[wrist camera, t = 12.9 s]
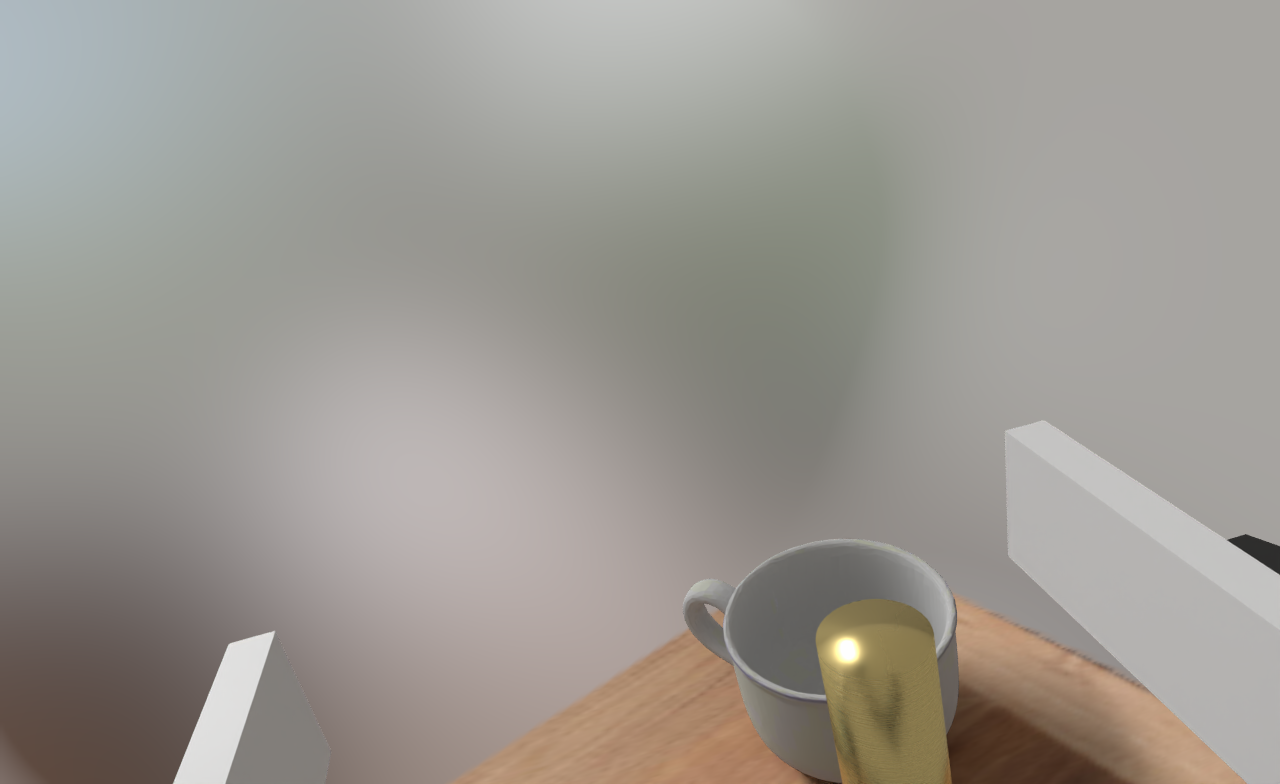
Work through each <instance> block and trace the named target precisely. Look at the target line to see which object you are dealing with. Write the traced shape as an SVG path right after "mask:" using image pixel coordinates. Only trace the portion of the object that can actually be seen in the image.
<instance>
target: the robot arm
mask: <svg viewBox="0 0 1280 784" xmlns="http://www.w3.org/2000/svg"><path fill="white" fill-rule="evenodd" d="M1005 449H1006V450H1005V451H1006V488H1007V489H1006V490H1007V524H1008V525H1007V526H1008V556H1009V557H1010V558H1011V559H1012V560H1013V561H1014V562H1015V563H1016V564H1017V565H1018V566H1019V567H1020V568H1021V569H1022V570H1024V571H1025V572H1026V573H1027V574H1028V575H1029V576H1030V577H1031V578H1032V579H1033V580H1034V581H1035V582H1036V583H1037V584H1038V585H1039V586H1040V587H1041V588H1042V589H1044V591H1046V592H1047V593H1048V594H1049V595H1050V596H1051V597H1052V598H1053V599H1054V600H1055V601H1056V602H1057V603H1058V604H1059V605H1060V606H1062V608H1063V609H1064V610H1066V611H1067V612H1068V613H1069V614H1070V615H1071V616H1072V617H1073V618H1074V619H1075V620H1076V621H1077V622H1078V623H1079V624H1080V625H1081V626H1082V627H1083V628H1084V629H1085V630H1087V631H1088V632H1089V633H1090V634H1091V635H1092V636H1093V637H1094V638H1095V639H1096V640H1097V641H1098V642H1099V643H1100V644H1101V645H1102V646H1103V647H1104V648H1106V650H1108V651H1109V652H1110V653H1111V654H1112V655H1113V656H1114V657H1115V658H1116V659H1117V660H1118V661H1119V662H1120V663H1121V664H1122V665H1123V666H1124V667H1125V668H1126V669H1127V670H1129V671H1130V672H1131V673H1132V674H1133V675H1134V676H1135V677H1136V678H1137V679H1138V680H1139V681H1140V682H1141V683H1142V684H1143V685H1144V686H1145V687H1146V688H1147V689H1149V690H1150V691H1151V692H1152V693H1153V694H1154V695H1155V696H1156V697H1157V698H1158V699H1159V700H1160V701H1161V702H1162V703H1163V704H1164V705H1165V706H1166V707H1167V708H1168V709H1170V710H1171V711H1172V712H1173V713H1174V714H1175V715H1176V716H1177V717H1178V718H1179V719H1180V720H1181V721H1182V722H1183V723H1184V724H1185V725H1186V726H1187V727H1188V728H1189V729H1191V730H1192V731H1193V732H1194V733H1195V734H1196V735H1197V736H1198V737H1199V738H1200V739H1201V740H1202V741H1203V742H1204V743H1205V744H1206V745H1207V746H1208V747H1209V748H1210V749H1212V750H1213V751H1214V752H1215V753H1216V754H1217V755H1218V756H1219V757H1220V758H1221V759H1222V760H1223V761H1224V762H1225V763H1226V764H1227V765H1228V766H1229V767H1230V768H1231V769H1233V770H1234V771H1235V772H1236V773H1237V774H1238V775H1239V776H1240V777H1241V778H1242V779H1243V780H1244V781H1245V782H1246V783H1247V784H1280V546H1277V545H1275V544H1272V543H1269V542H1266V541H1263V540H1261V539H1258V538H1255V537H1252V536H1249V535H1246V534H1245V535H1242V536H1239V537H1235V538H1232V539H1229V540H1226V539H1224V538H1223V537H1221V536H1220V535H1218V534H1217V533H1215V532H1214V531H1212V530H1210V529H1209V528H1207V527H1206V526H1204V525H1203V524H1201V523H1200V522H1198V521H1197V520H1195V519H1193V518H1192V517H1190V516H1189V515H1187V514H1186V513H1184V512H1183V511H1181V510H1180V509H1178V508H1177V507H1175V506H1174V505H1172V504H1171V503H1169V502H1168V501H1166V500H1165V499H1163V498H1162V497H1160V496H1159V495H1157V494H1155V493H1154V492H1153V491H1151V490H1150V489H1148V488H1147V487H1145V486H1143V485H1142V484H1140V483H1139V482H1137V481H1136V480H1134V479H1133V478H1131V477H1130V476H1128V475H1127V474H1125V473H1124V472H1122V471H1121V470H1119V469H1118V468H1116V467H1114V466H1113V465H1111V464H1110V463H1108V462H1107V461H1105V460H1104V459H1102V458H1101V457H1099V456H1098V455H1096V454H1095V453H1093V452H1092V451H1090V450H1089V449H1087V448H1086V447H1084V446H1083V445H1081V444H1080V443H1078V442H1076V441H1075V440H1073V439H1072V438H1070V437H1069V436H1067V435H1066V434H1064V433H1063V432H1061V431H1060V430H1058V429H1057V428H1055V427H1053V426H1052V425H1051V424H1049V423H1048V422H1046V421H1044V420H1043V421H1039V422H1036V423H1032V424H1029V425H1025V426H1021V427H1017V428H1014V429H1010V430H1006V431H1005ZM330 755H331V750H330V748H329V745H328V743H327V741H326V739H325V737H324V735H323V733H322V730H321V728H320V726H319V724H318V722H317V720H316V718H315V715H314V713H313V711H312V709H311V707H310V705H309V702H308V700H307V698H306V696H305V694H304V692H303V690H302V687H301V685H300V683H299V681H298V679H297V677H296V674H295V672H294V670H293V668H292V666H291V664H290V662H289V659H288V658H287V655H286V653H285V651H284V649H283V646H282V644H281V642H280V640H279V638H278V636H277V634H276V631H274V632H270V633H266V634H263V635H259V636H255V637H252V638H248V639H245V640H241V641H237V642H234V643H230V644H229V645H228V648H227V650H226V653H225V655H224V658H223V660H222V663H221V665H220V668H219V670H218V673H217V675H216V678H215V680H214V683H213V685H212V688H211V690H210V693H209V695H208V698H207V700H206V703H205V705H204V708H203V710H202V713H201V715H200V718H199V720H198V723H197V726H196V728H195V730H194V733H193V736H192V738H191V740H190V743H189V746H188V748H187V750H186V753H185V756H184V758H183V760H182V763H181V765H180V768H179V771H178V773H177V776H176V778H175V781H174V783H173V784H325V781H326V776H327V771H328V765H329V761H330Z"/></svg>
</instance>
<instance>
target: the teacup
mask: <svg viewBox="0 0 1280 784" xmlns="http://www.w3.org/2000/svg"><path fill="white" fill-rule="evenodd" d="M866 599H887V600H893V601H897V602H901V603H904V604H907V605H909V606H911V607H913V608H915V609H916V610H918V611H919V612H921V613H922V614H923V615H924V616H925V617H926V618H927V619H928V621H929V622H930V624H931V626H932V628H933V632H934V638H935V646H936V654H937V663H938V671H939V679H940V688H941V696H942V704H943V712H944V721H945V729H946V735H947V733H948V731H949V729H950V727H951V725H952V722H953V719H954V716H955V712H956V708H957V702H958V690H959V676H958V655H957V643H956V633H955V630H956V626H957V610H956V604H955V599H954V597H953V595H952V592H951V590H950V589H949V587H948V585H947V583H946V582H945V581H944V579H943V578H942V577H941V575H939V574H938V572H937V571H936V570H935V569H934V568H932V567H931V566H930V565H929V564H928V563H926V562H925V561H924V560H922V559H921V558H918V557H917V556H915V555H914V554H912V553H910V552H907V551H905V550H903V549H901V548H898V547H895V546H893V545H888V544H885V543H881V542H876V541H868V540H862V539H857V540H854V539H832V540H822V541H817V542H812V543H808V544H804V545H800V546H797V547H794V548H791V549H789V550H786V551H784V552H782V553H780V554H777V555H775V556H773V557H771V558H770V559H768V560H767V561H765V562H764V563H762V564H761V565H759V566H758V567H757V568H756V569H755V570H753V571H752V572H751V573H750V574H749V575H748V576H747V577H745V578H744V579H743V581H742V582H741V583H740V584H739V585H738V586H737V588H734V587H733V586H731V585H729V584H727V583H725V582H722V581H719V580H716V579H705V580H702V581H699V582H697V583H696V584H695V585H694V586H692V588H691V589H690V590H689V592H688V593H687V595H686V597H685V599H684V603H683V614H684V619H685V621H686V623H687V625H688V627H689V629H690V630H691V632H692V633H693V635H694V636H695V637H696V638H697V639H698V640H699V641H700V642H701V643H702V644H703V645H704V646H705V647H706V648H707V649H709V650H710V651H712V652H713V653H714V654H716V655H717V656H719V657H720V658H722V659H723V660H725V661H726V662H728V663H730V664H731V665H733V666H734V668H735V672H736V676H737V680H738V684H739V687H740V691H741V694H742V697H743V701H744V704H745V706H746V709H747V712H748V715H749V717H750V719H751V721H752V723H753V725H754V727H755V729H756V731H757V732H758V734H759V735H760V737H761V739H762V740H763V741H764V743H765V744H766V745H767V746H768V747H769V748H770V749H771V750H772V751H773V752H774V753H775V754H776V755H777V756H778V757H779V758H780V759H781V760H783V761H784V762H785V763H787V764H788V765H790V766H791V767H793V768H795V769H797V770H799V771H801V772H802V773H804V774H807V775H809V776H812V777H814V778H817V779H821V780H824V781H830V782H836V783H842V779H841V773H840V768H839V763H838V758H837V752H836V747H835V742H834V736H833V731H832V726H831V721H830V715H829V710H828V705H827V699H826V694H825V689H824V684H823V678H822V673H821V668H820V663H819V657H818V652H817V647H816V632H817V629H818V627H819V625H820V623H821V622H822V621H823V619H824V618H825V617H826V616H827V615H829V614H830V613H831V612H832V611H834V610H836V609H837V608H839V607H841V606H843V605H846V604H849V603H851V602H855V601H860V600H866ZM704 604H709V605H712V606H714V607H716V608H718V609H719V610H720V611H721V612H723V613H724V614H725V617H724V622H723V628H722V627H721V626H720V625H719V624H718V623H717V622H716V621H715V620H714V619H713V618H712V616H711V615H710V614H709V613H708V611H707V609H706V607H705V605H704Z"/></svg>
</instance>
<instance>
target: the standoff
mask: <svg viewBox="0 0 1280 784" xmlns="http://www.w3.org/2000/svg"><path fill="white" fill-rule="evenodd" d="M816 647H817V652H818V657H819V663H820V668H821V673H822V678H823V684H824V689H825V694H826V699H827V705H828V710H829V715H830V721H831V726H832V731H833V736H834V742H835V747H836V752H837V758H838V763H839V768H840V773H841V779H842V784H952V778H951V770H950V762H949V754H948V745H947V737H946V729H945V721H944V712H943V704H942V696H941V688H940V679H939V671H938V663H937V654H936V646H935V638H934V632H933V628H932V626H931V624H930V622H929V621H928V619H927V618H926V617H925V616H924V615H923V614H922V613H921V612H919V611H918V610H916V609H915V608H913V607H911V606H909V605H907V604H904V603H901V602H897V601H893V600H887V599H866V600H860V601H855V602H851V603H849V604H846V605H843V606H841V607H839V608H837V609H836V610H834V611H832V612H831V613H830V614H829V615H827V616H826V617H825V618H824V619H823V621H822V622H821V623H820V625H819V627H818V629H817V632H816Z"/></svg>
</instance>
